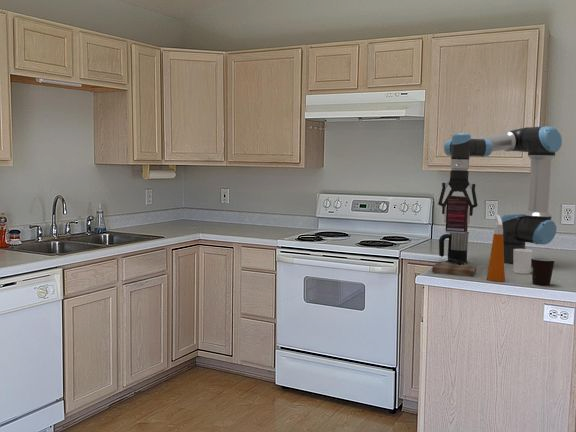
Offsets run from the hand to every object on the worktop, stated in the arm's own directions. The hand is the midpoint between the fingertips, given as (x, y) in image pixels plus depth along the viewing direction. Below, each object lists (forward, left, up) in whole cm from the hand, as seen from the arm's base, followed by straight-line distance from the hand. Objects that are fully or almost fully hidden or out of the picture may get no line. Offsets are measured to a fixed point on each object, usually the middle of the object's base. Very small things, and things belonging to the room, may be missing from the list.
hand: (456, 222), depth 257 cm
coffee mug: (-35, +7, -22) cm, 42 cm away
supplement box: (0, 0, -5) cm, 5 cm away
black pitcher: (+1, -25, -22) cm, 34 cm away
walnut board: (0, 0, -22) cm, 22 cm away
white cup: (-27, -15, -22) cm, 38 cm away
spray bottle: (-17, +7, -22) cm, 29 cm away
